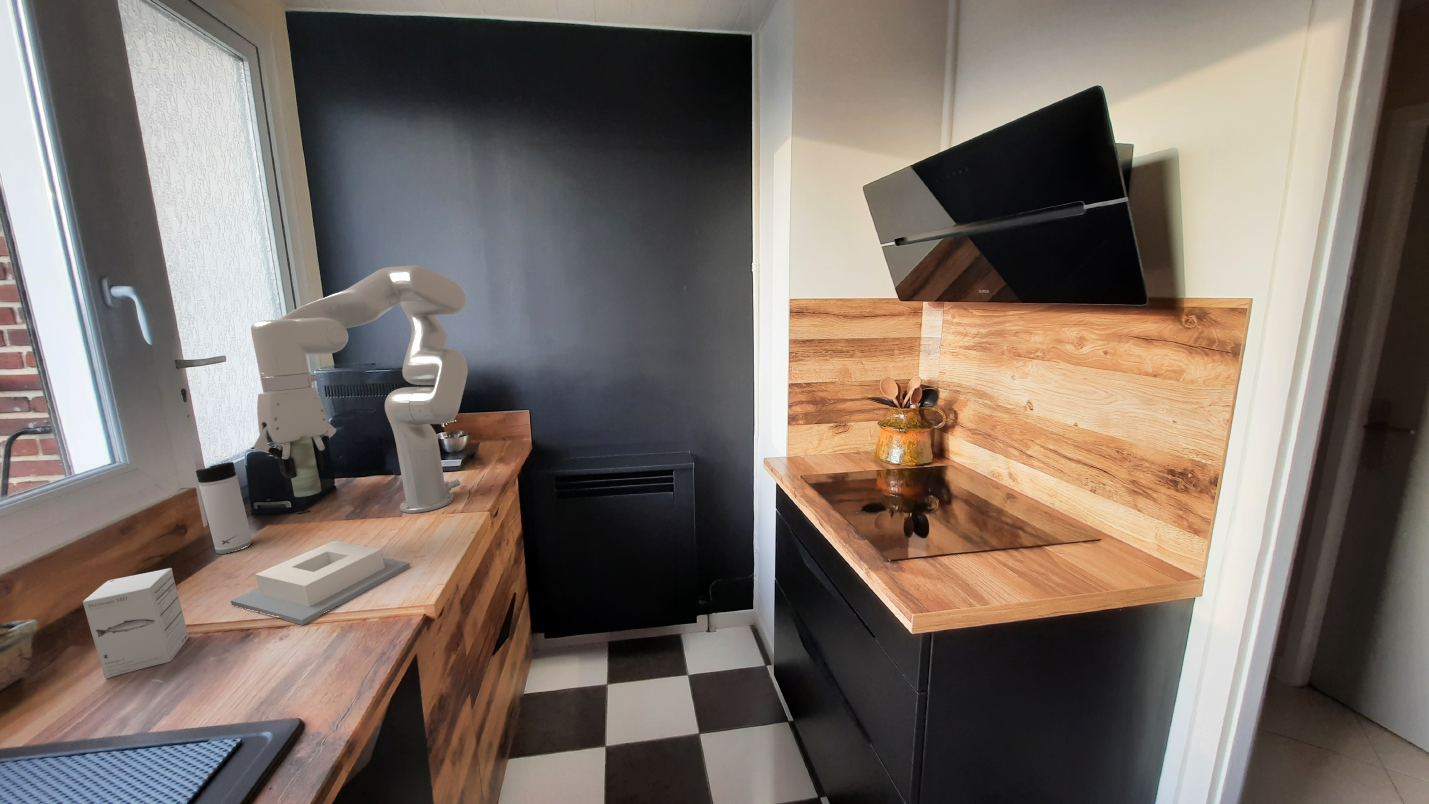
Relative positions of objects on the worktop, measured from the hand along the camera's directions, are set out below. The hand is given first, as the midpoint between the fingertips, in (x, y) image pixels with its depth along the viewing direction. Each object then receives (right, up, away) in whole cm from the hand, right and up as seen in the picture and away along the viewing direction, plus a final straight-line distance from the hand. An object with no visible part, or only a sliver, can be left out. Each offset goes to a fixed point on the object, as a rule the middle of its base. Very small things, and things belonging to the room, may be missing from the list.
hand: (304, 472), depth 106 cm
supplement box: (-4, -25, -25) cm, 36 cm away
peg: (0, -4, +1) cm, 4 cm away
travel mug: (-26, -19, +13) cm, 35 cm away
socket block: (+8, -21, -6) cm, 23 cm away
